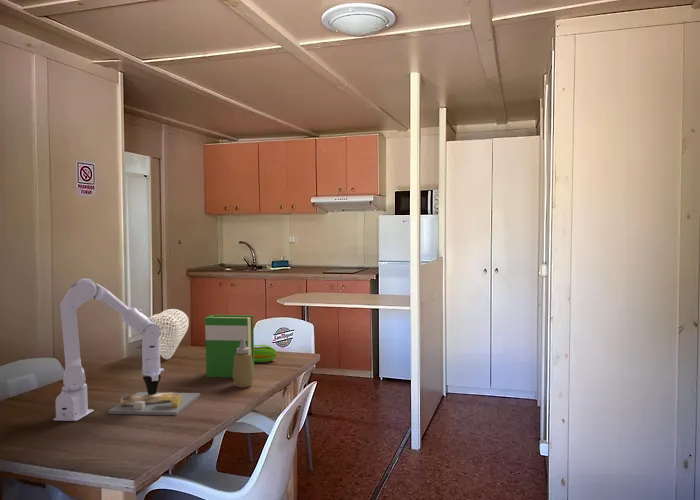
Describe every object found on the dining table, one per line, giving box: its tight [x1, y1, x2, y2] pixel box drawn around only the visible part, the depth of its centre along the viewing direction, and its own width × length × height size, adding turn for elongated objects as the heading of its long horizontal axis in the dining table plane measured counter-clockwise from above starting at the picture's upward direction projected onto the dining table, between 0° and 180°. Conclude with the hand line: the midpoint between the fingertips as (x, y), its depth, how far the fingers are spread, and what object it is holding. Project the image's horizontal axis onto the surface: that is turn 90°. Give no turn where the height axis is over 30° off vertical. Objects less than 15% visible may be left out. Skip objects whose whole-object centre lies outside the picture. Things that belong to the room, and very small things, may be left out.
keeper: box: [158, 394, 182, 408], centre depth 178 cm, size 4×6×3 cm, turn 84°
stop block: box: [134, 401, 145, 409], centre depth 176 cm, size 2×3×2 cm, turn 84°
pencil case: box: [254, 344, 278, 363], centre depth 241 cm, size 7×8×20 cm
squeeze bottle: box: [232, 338, 255, 389], centre depth 203 cm, size 8×8×18 cm
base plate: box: [107, 391, 201, 416], centre depth 182 cm, size 20×23×1 cm
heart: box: [148, 308, 190, 360], centre depth 247 cm, size 28×16×22 cm, turn 179°
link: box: [120, 392, 175, 406], centre depth 181 cm, size 17×4×3 cm, turn 108°
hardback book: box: [204, 314, 255, 379], centre depth 218 cm, size 18×7×24 cm, turn 81°
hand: (152, 396), depth 184 cm, fingers closed, pressing on link
